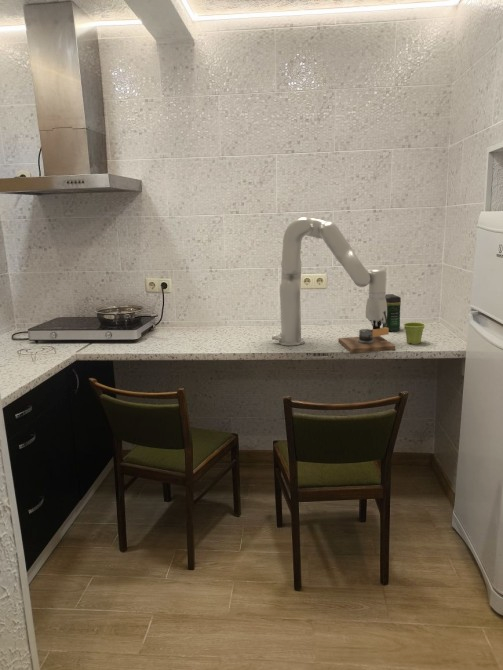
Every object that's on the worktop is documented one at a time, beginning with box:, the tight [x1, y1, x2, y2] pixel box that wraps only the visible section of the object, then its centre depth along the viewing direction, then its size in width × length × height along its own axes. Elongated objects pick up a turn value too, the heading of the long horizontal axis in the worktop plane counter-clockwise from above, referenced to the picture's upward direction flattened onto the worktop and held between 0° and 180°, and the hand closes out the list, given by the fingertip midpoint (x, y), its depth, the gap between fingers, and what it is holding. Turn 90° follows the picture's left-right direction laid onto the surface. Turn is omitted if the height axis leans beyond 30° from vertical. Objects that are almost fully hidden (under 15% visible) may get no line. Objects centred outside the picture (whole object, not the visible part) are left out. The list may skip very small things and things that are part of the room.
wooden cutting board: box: [338, 335, 396, 354], centre depth 221 cm, size 20×20×3 cm
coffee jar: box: [382, 293, 402, 333], centre depth 248 cm, size 10×8×19 cm
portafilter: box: [358, 327, 390, 341], centre depth 223 cm, size 8×16×4 cm, turn 116°
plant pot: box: [403, 321, 426, 345], centre depth 223 cm, size 9×9×9 cm
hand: (376, 333), depth 227 cm, fingers closed
